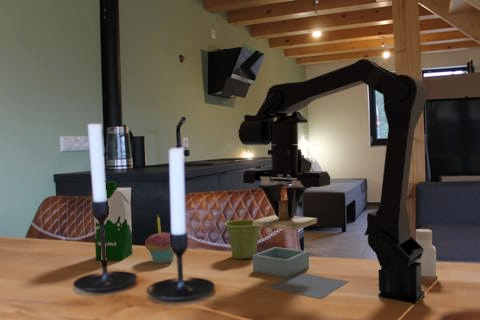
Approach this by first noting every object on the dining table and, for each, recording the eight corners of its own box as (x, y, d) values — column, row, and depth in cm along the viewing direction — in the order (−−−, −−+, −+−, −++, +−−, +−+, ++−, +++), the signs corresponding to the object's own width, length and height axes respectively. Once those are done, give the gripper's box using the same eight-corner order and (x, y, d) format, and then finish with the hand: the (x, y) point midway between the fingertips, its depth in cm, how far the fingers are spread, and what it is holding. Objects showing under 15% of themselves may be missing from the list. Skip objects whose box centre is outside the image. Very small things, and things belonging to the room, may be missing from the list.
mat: (348, 283, 88) (348, 281, 88) (321, 301, 78) (321, 299, 78) (296, 273, 95) (296, 272, 95) (265, 289, 86) (265, 287, 86)
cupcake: (173, 265, 105) (171, 216, 104) (139, 265, 106) (138, 216, 106) (183, 256, 113) (182, 210, 113) (152, 256, 115) (150, 210, 114)
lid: (316, 222, 95) (316, 199, 95) (293, 230, 87) (293, 205, 87) (277, 218, 101) (277, 196, 101) (252, 225, 93) (252, 202, 93)
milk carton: (91, 261, 111) (87, 183, 111) (106, 252, 120) (103, 180, 120) (123, 261, 110) (120, 182, 109) (137, 252, 119) (134, 179, 118)
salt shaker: (437, 278, 89) (436, 232, 89) (416, 278, 90) (415, 232, 89) (432, 273, 93) (431, 228, 93) (412, 272, 94) (411, 228, 93)
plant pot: (218, 259, 110) (217, 224, 109) (236, 250, 118) (235, 218, 118) (252, 263, 105) (251, 227, 105) (268, 253, 114) (267, 220, 113)
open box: (309, 269, 98) (308, 251, 98) (288, 279, 91) (287, 260, 91) (275, 263, 104) (274, 246, 104) (253, 273, 97) (252, 255, 97)
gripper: (341, 144, 94) (341, 216, 95) (268, 144, 105) (269, 209, 106) (317, 145, 85) (318, 224, 86) (240, 145, 96) (241, 215, 97)
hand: (285, 217), depth 94 cm, fingers closed on lid, 3 cm apart
